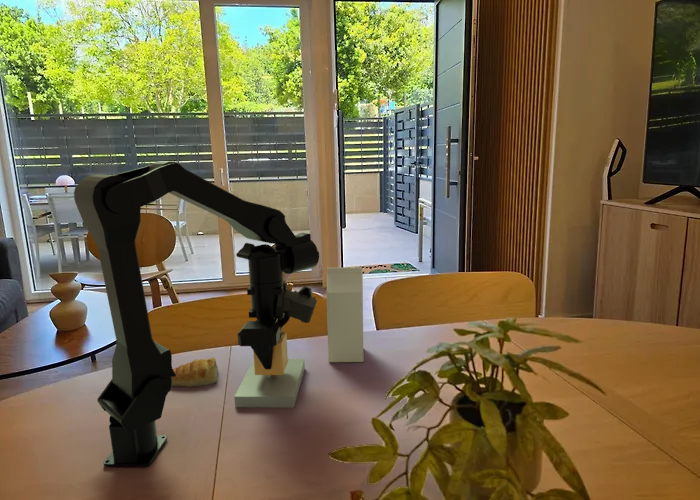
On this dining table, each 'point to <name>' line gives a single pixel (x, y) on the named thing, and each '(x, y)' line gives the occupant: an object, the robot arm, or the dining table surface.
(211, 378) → the pastry
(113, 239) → the robot arm
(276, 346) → the small yellow upright block
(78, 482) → the dining table surface
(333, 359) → the milk carton
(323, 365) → the dining table surface
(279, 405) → the pale green flat slab
